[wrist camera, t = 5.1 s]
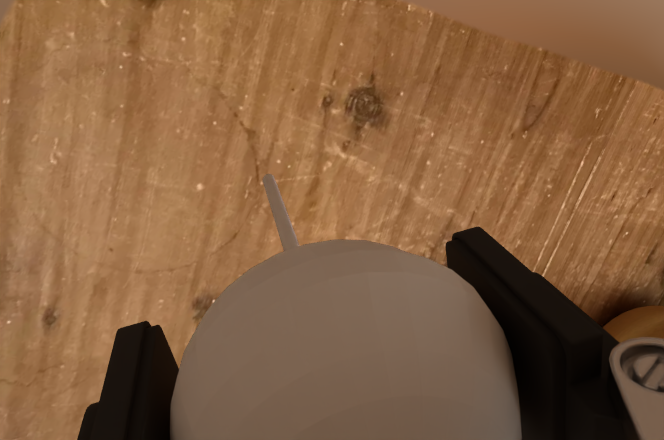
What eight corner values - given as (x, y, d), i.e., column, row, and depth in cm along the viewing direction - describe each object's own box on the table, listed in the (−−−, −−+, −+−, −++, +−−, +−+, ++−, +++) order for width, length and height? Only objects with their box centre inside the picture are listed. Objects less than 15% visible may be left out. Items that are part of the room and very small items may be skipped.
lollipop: (222, 72, 18) (276, 321, 5) (369, 132, 20) (699, 425, 7) (166, 226, 20) (88, 727, 6) (306, 267, 22) (467, 710, 8)
